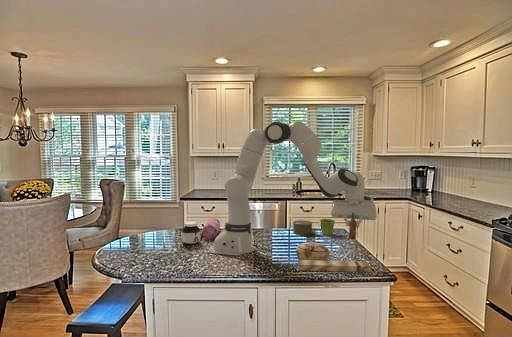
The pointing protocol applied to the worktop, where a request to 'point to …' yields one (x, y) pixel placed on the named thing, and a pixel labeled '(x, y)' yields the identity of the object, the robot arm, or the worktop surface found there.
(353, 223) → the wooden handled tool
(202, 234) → the pencil case cradle
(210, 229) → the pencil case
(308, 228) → the can
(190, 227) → the spread jar
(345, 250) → the worktop surface
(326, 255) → the trinket box
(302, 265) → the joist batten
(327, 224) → the plant pot
